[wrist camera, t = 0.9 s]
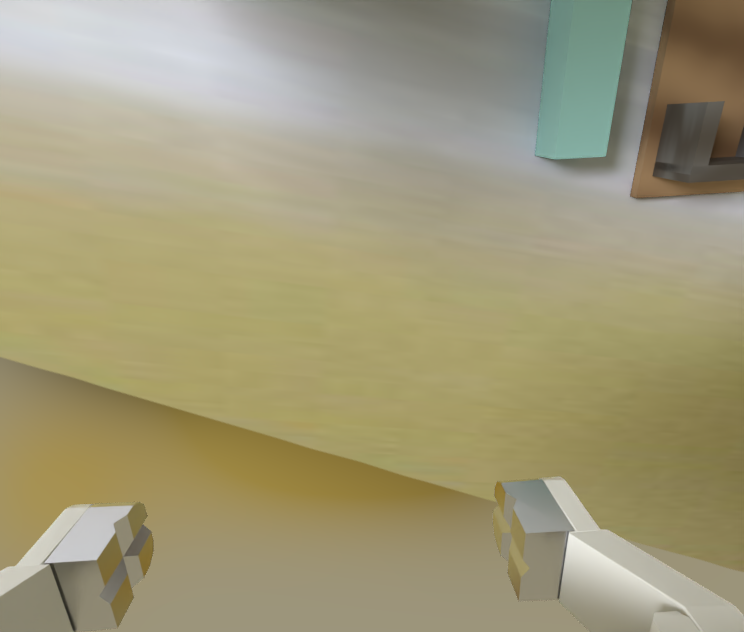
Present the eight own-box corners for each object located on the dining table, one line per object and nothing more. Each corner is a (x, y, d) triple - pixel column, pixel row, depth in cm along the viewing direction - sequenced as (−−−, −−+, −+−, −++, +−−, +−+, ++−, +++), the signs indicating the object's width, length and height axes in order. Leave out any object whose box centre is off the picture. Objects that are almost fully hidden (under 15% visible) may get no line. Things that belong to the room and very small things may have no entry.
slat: (558, -82, 30) (587, -113, 26) (613, -85, 30) (652, -117, 26) (533, 155, 37) (554, 159, 33) (579, 152, 37) (605, 156, 33)
